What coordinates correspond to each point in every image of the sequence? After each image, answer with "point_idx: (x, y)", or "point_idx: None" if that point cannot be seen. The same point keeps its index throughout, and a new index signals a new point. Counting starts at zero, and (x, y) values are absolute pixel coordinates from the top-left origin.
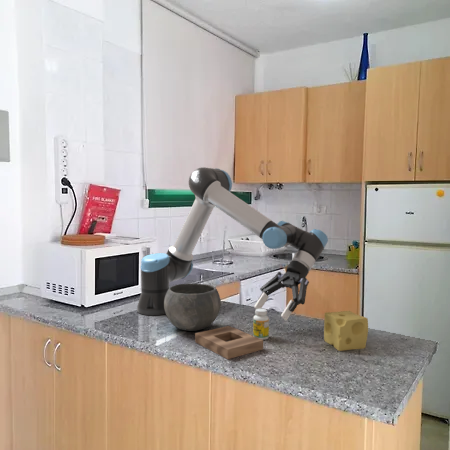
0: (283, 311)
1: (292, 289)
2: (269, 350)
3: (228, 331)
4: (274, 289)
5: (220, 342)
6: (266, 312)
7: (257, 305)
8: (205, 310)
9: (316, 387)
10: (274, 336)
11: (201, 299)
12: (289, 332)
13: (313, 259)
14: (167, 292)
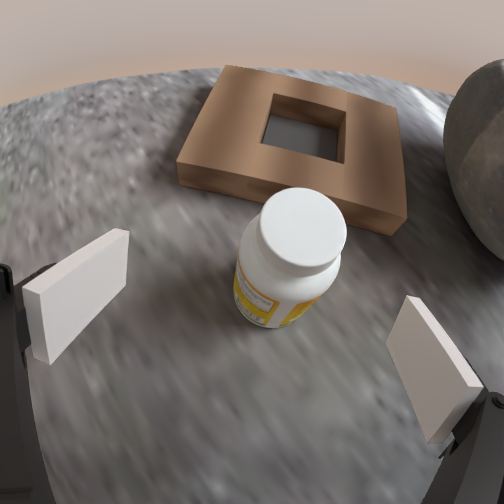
0: (110, 243)
1: (12, 428)
2: (155, 192)
3: (351, 163)
4: (432, 500)
5: (282, 84)
6: (258, 237)
7: (411, 315)
8: (457, 112)
9: (3, 113)
10: (229, 348)
11: (483, 78)
12: (205, 452)
13: None
14: None
